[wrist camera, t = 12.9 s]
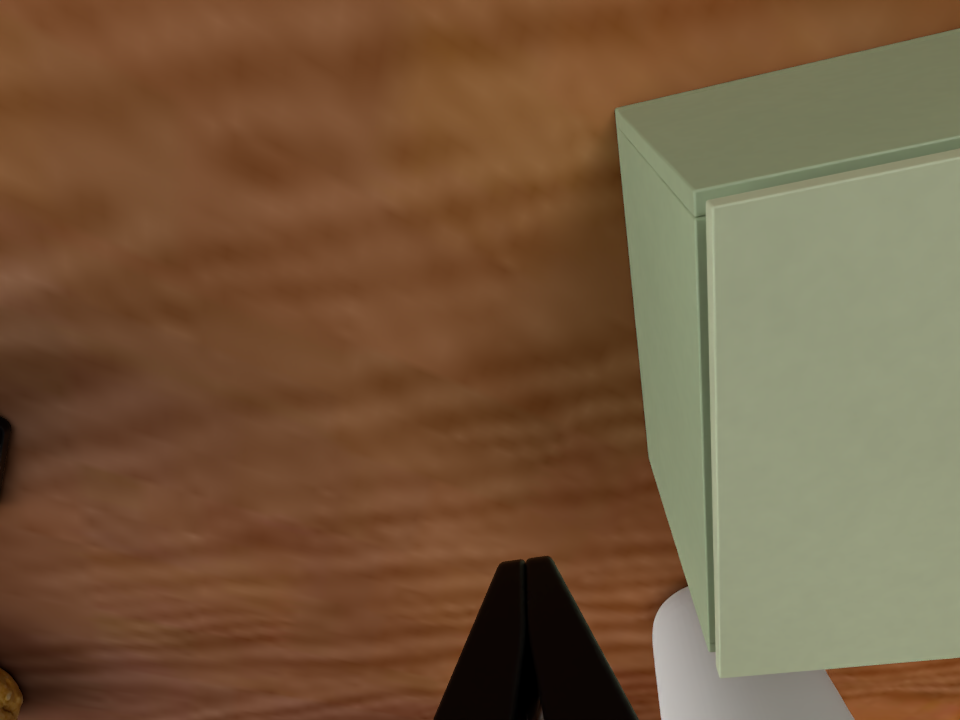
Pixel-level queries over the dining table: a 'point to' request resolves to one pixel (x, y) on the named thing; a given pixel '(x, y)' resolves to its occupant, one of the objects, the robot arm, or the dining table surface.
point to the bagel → (9, 697)
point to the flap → (836, 419)
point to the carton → (733, 170)
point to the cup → (728, 701)
